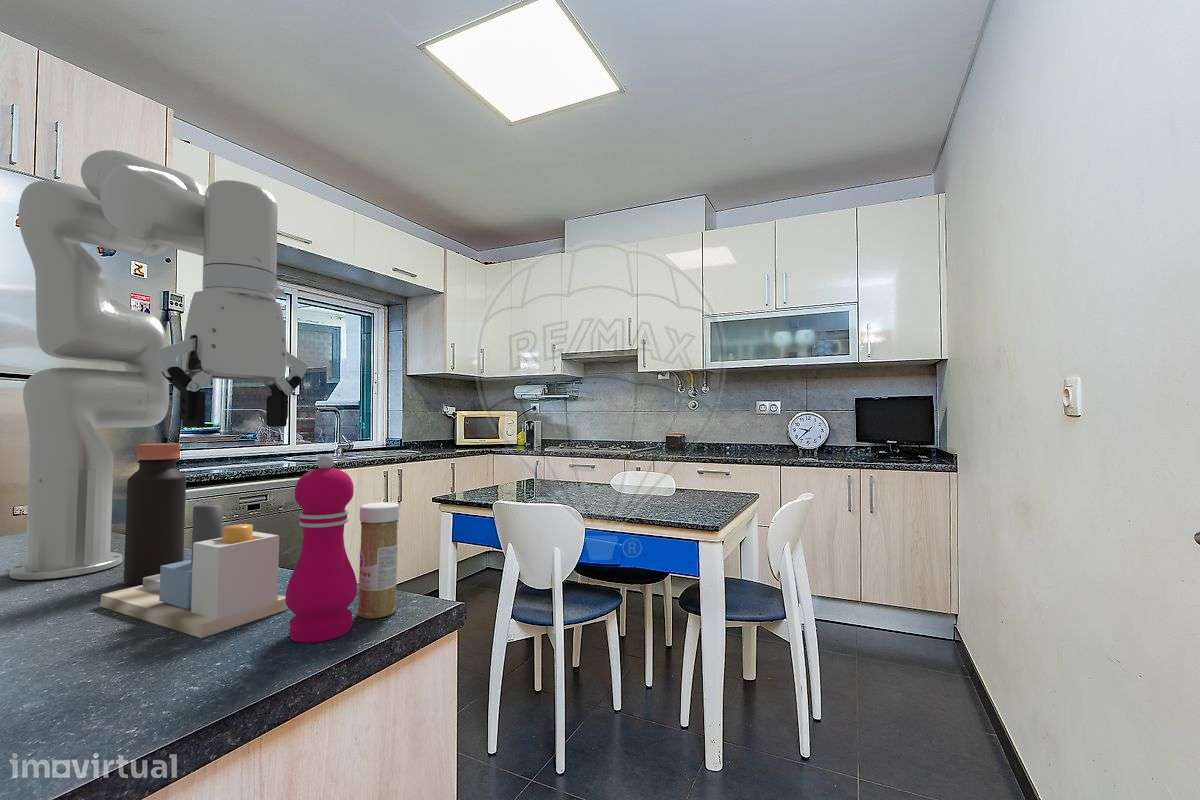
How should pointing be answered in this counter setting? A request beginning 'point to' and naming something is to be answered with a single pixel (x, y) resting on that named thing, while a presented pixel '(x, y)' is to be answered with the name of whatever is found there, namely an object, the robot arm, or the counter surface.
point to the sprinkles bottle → (378, 559)
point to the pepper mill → (322, 557)
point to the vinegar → (154, 513)
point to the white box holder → (234, 575)
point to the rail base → (179, 610)
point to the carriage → (180, 574)
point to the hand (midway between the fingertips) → (237, 426)
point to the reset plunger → (237, 533)
